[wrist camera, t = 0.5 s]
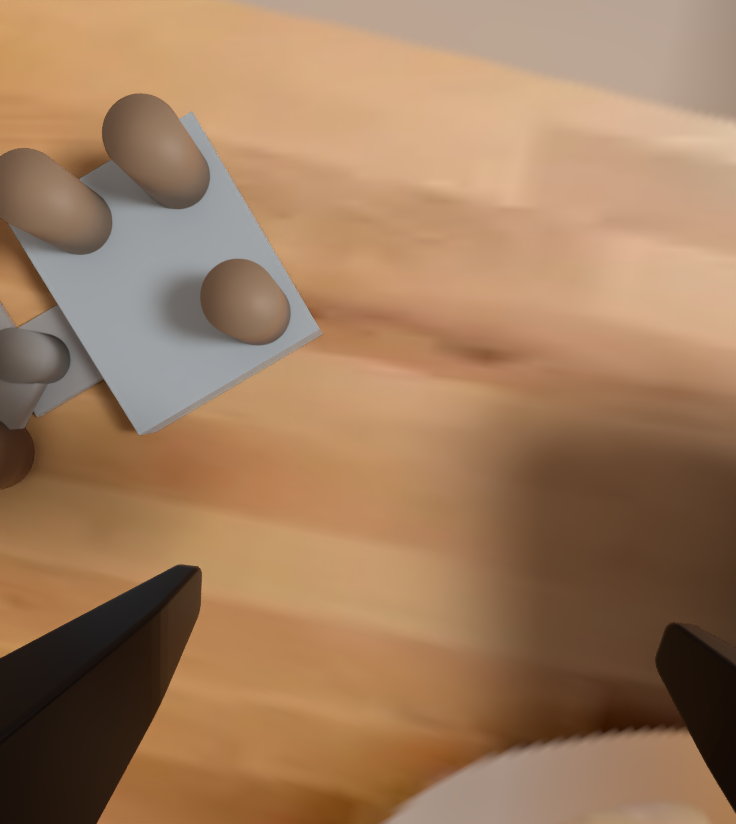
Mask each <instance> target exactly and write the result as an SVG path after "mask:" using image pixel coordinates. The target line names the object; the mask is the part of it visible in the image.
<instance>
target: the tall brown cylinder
mask: <svg viewBox="0 0 736 824" xmlns="http://www.w3.org/2000/svg"><path fill="white" fill-rule="evenodd" d="M70 360H71V358H70V353H69V350H68V348H67V346H66V344H65V343H64V342H63V341H62V340H61V339H60V338H58V337H56V336H54V335H51V334H47V333H41V332H36V331H31V330H26V329H21V328H14V327H11V328H5V329H2V330H0V490H1V489H5V488H8V487H11V486H13V485H15V484H17V483H18V482H20V481H21V480H22V479H23V478H24V477H25V476H26V475H27V474H28V472H29V471H30V469H31V466H32V464H33V460H34V445H33V441H32V438H31V436H30V434H29V432H28V431H27V429H26V428H25V426H26V424H27V422H28V420H29V418H30V416H31V415H32V413H33V411H34V409H35V407H36V405H37V403H38V402H39V400H40V398H41V396H42V394H43V392H44V390H45V389H46V387H47V385H48V384H51V383H55V382H57V381H59V380H60V379H62V378H63V377H64V376H65V375H66V373H67V372H68V369H69V367H70Z"/></svg>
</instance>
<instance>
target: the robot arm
mask: <svg viewBox="0 0 736 824" xmlns="http://www.w3.org/2000/svg"><path fill="white" fill-rule="evenodd" d="M201 584H202V572H201V569H200V568H199V567H198V566H190V565H176V566H174V567H172V568H170V569H168V570H167V571H165V572H163V573H161V574H159V575H157V576H155V577H153V578H151V579H150V580H148V581H146V582H144V583H142V584H140V585H138V586H136V587H134V588H132V589H131V590H129V591H127V592H125V593H123V594H121V595H119V596H117V597H115V598H114V599H112V600H110V601H108V602H106V603H104V604H102V605H100V606H98V607H97V608H95V609H93V610H91V611H89V612H87V613H85V614H83V615H81V616H79V617H78V618H76V619H74V620H72V621H70V622H68V623H66V624H64V625H62V626H61V627H59V628H57V629H55V630H53V631H51V632H49V633H47V634H45V635H43V636H42V637H40V638H38V639H36V640H34V641H32V642H30V643H28V644H26V645H25V646H23V647H21V648H19V649H17V650H15V651H13V652H11V653H9V654H7V655H6V656H4V657H2V658H0V824H97V822H98V820H99V818H100V816H101V814H102V813H103V811H104V809H105V807H106V805H107V803H108V801H109V800H110V798H111V796H112V794H113V792H114V790H115V789H116V787H117V785H118V783H119V781H120V779H121V777H122V776H123V774H124V772H125V770H126V768H127V766H128V764H129V763H130V761H131V759H132V757H133V755H134V753H135V752H136V750H137V748H138V746H139V744H140V742H141V740H142V739H143V737H144V735H145V733H146V731H147V729H148V727H149V726H150V724H151V722H152V720H153V718H154V716H155V714H156V712H157V710H158V708H159V706H160V704H161V702H162V700H163V698H164V695H165V693H166V691H167V689H168V686H169V684H170V681H171V679H172V677H173V674H174V672H175V670H176V667H177V665H178V663H179V660H180V658H181V656H182V653H183V651H184V649H185V646H186V644H187V642H188V639H189V637H190V634H191V632H192V630H193V627H194V625H195V623H196V620H197V618H198V615H199V611H200V606H201ZM655 662H656V667H657V670H658V673H659V675H660V677H661V679H662V680H663V682H664V684H665V686H666V688H667V690H668V692H669V694H670V696H671V698H672V700H673V702H674V704H675V706H676V707H677V709H678V711H679V713H680V715H681V717H682V719H683V721H684V723H685V725H686V727H687V729H688V731H689V733H690V735H691V736H692V738H693V740H694V742H695V744H696V746H697V748H698V750H699V752H700V754H701V755H702V757H703V759H704V761H705V763H706V765H707V766H708V768H709V770H710V771H711V773H712V775H713V777H714V778H715V780H716V782H717V784H718V785H719V787H720V788H721V790H722V792H723V793H724V795H725V797H726V798H727V800H728V802H729V803H730V805H731V806H732V808H733V810H734V811H735V813H736V647H734V646H732V645H730V644H728V643H727V642H725V641H723V640H721V639H719V638H717V637H716V636H714V635H712V634H710V633H708V632H707V631H705V630H703V629H701V628H699V627H697V626H695V625H692V624H684V623H676V622H673V623H670V624H669V625H667V626H666V628H665V631H664V634H663V637H662V639H661V642H660V645H659V648H658V651H657V653H656V658H655Z"/></svg>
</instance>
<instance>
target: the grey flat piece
mask: <svg viewBox="0 0 736 824" xmlns="http://www.w3.org/2000/svg"><path fill="white" fill-rule="evenodd" d="M102 138H103V143H104V146H105V149H106V151H107V153H108V155H109V156H110V158H111V160H110V161H108V162H106V163H105V164H103V165H101V166H100V167H98V168H96V169H95V170H93V171H91V172H90V173H88V174H86V175H85V176H83V177H81V178H80V179H78V178H76V177H75V176H74V175H72V174H71V173H70V172H68V171H67V170H66V169H64V168H63V167H62V166H60V165H59V164H58V163H57V162H55V161H54V160H53V159H51V158H50V157H49V156H47V155H46V154H44V153H42V152H40V151H37V150H34V149H29V148H19V149H14V150H11V151H8V152H6V153H4V154H3V155H2V156H0V218H1V219H2V220H3V221H5V222H6V223H8V224H9V226H10V227H11V229H12V231H13V232H14V234H15V236H16V237H17V239H18V240H19V242H20V244H21V245H22V247H23V249H24V250H25V252H26V253H27V255H28V257H29V258H30V260H31V261H32V263H33V265H34V266H35V268H36V270H37V271H38V273H39V274H40V276H41V278H42V279H43V281H44V282H45V284H46V286H47V287H48V289H49V291H50V292H51V294H52V295H53V297H54V299H55V300H56V302H57V303H58V305H56V306H54V307H53V308H51V309H49V310H47V311H46V312H44V313H42V314H41V315H39V316H37V317H36V318H34V319H32V320H31V321H29V322H27V323H26V324H24V325H22V326H21V327H19V328H21V329H26V330H31V331H36V332H41V333H47V334H51V335H54V336H56V337H58V338H60V339H61V340H62V341H63V342H64V343H65V344H66V346H67V348H68V350H69V353H70V358H71V360H70V367H69V369H68V372H67V373H66V375H65V376H64V377H63V378H62V379H60V380H59V381H57V382H55V383H51V384H48V385H47V387H46V389H45V390H44V392H43V394H42V396H41V398H40V400H39V402H38V403H37V405H36V407H35V409H34V411H33V412H34V413H35V415H36V417H41V416H43V415H45V414H46V413H48V412H50V411H51V410H53V409H55V408H57V407H58V406H60V405H62V404H63V403H65V402H67V401H68V400H70V399H72V398H73V397H75V396H77V395H79V394H80V393H82V392H84V391H85V390H87V389H89V388H90V387H92V386H94V385H95V384H97V383H99V382H101V381H102V380H105V381H106V383H107V384H108V386H109V388H110V389H111V391H112V392H113V394H114V396H115V397H116V399H117V401H118V402H119V404H120V405H121V407H122V409H123V410H124V412H125V413H126V415H127V417H128V418H129V420H130V422H131V423H132V425H133V426H134V428H135V430H136V431H137V433H138V435H144V434H149V433H155V432H157V431H159V430H161V429H162V428H164V427H166V426H168V425H169V424H171V423H173V422H174V421H176V420H178V419H179V418H181V417H183V416H185V415H186V414H188V413H190V412H191V411H193V410H195V409H196V408H198V407H200V406H202V405H203V404H205V403H207V402H208V401H210V400H212V399H213V398H215V397H217V396H219V395H220V394H222V393H224V392H225V391H227V390H229V389H230V388H232V387H234V386H236V385H237V384H239V383H241V382H242V381H244V380H246V379H247V378H249V377H251V376H253V375H254V374H256V373H258V372H259V371H261V370H263V369H264V368H266V367H268V366H270V365H271V364H273V363H275V362H276V361H278V360H280V359H281V358H283V357H285V356H287V355H288V354H290V353H292V352H293V351H295V350H297V349H298V348H300V347H302V346H304V345H305V344H307V343H309V342H310V341H312V340H314V339H315V338H317V337H319V336H321V335H322V332H321V330H320V329H319V327H318V325H317V323H316V322H315V320H314V318H313V317H312V315H311V313H310V312H309V310H308V308H307V306H306V305H305V303H304V301H303V300H302V298H301V296H300V294H299V293H298V291H297V289H296V288H295V286H294V284H293V282H292V281H291V279H290V277H289V276H288V274H287V272H286V271H285V269H284V267H283V265H282V264H281V262H280V260H279V259H278V257H277V255H276V253H275V252H274V250H273V248H272V247H271V245H270V243H269V242H268V240H267V238H266V236H265V235H264V233H263V231H262V230H261V228H260V226H259V224H258V223H257V221H256V219H255V218H254V216H253V214H252V213H251V211H250V209H249V207H248V206H247V204H246V202H245V201H244V199H243V197H242V195H241V194H240V192H239V190H238V189H237V187H236V185H235V184H234V182H233V180H232V178H231V177H230V175H229V173H228V172H227V170H226V168H225V166H224V165H223V163H222V161H221V160H220V158H219V156H218V155H217V153H216V151H215V149H214V148H213V146H212V144H211V143H210V141H209V139H208V137H207V136H206V134H205V132H204V131H203V129H202V127H201V126H200V124H199V122H198V121H197V119H196V117H195V116H194V114H193V112H190V113H189V114H187V115H185V116H184V117H182V118H180V119H179V118H178V117H177V115H176V114H175V112H174V111H173V110H172V108H171V107H170V106H169V105H168V104H167V103H166V102H164V101H163V100H161V99H160V98H158V97H155V96H153V95H149V94H132V95H128V96H126V97H124V98H122V99H120V100H118V101H117V102H116V103H115V104H114V105H113V106H112V107H111V108H110V109H109V111H108V113H107V114H106V116H105V119H104V122H103V127H102ZM11 327H14V328H16V326H15V325H14V323H13V321H12V320H11V318H10V317H9V315H8V313H7V312H6V310H5V309H4V307H3V305H2V304H1V302H0V330H2V329H5V328H11Z"/></svg>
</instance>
